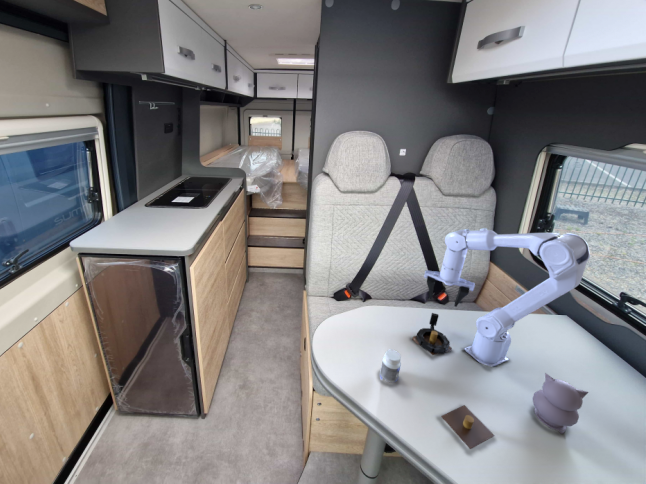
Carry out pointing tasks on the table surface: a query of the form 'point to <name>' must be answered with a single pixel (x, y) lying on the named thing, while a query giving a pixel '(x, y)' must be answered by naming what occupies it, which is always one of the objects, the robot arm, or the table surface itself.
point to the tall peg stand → (432, 341)
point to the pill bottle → (390, 366)
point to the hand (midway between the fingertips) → (442, 301)
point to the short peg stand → (467, 426)
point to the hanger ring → (427, 331)
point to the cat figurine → (558, 403)
